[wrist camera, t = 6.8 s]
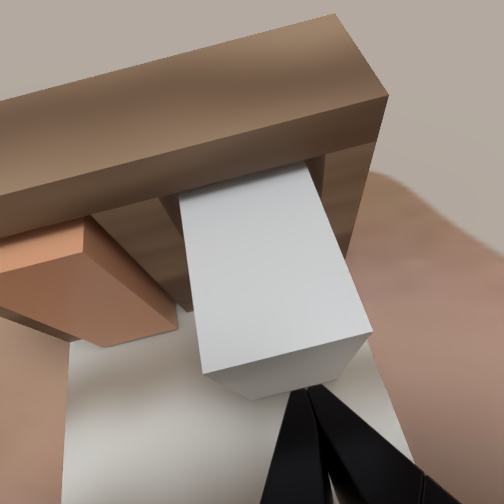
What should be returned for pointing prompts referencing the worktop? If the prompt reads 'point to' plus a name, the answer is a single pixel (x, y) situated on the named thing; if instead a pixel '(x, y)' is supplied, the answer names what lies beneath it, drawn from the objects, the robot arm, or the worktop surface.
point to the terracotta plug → (82, 284)
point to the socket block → (173, 244)
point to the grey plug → (269, 283)
